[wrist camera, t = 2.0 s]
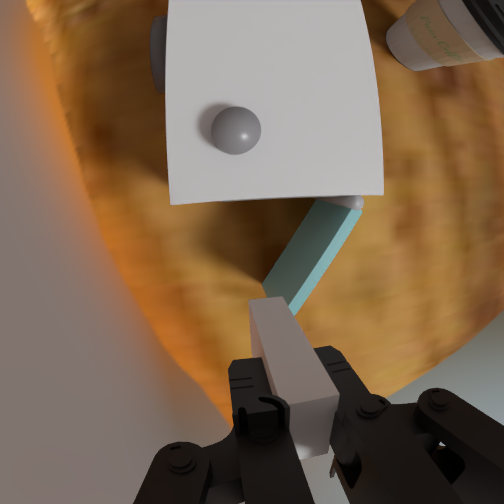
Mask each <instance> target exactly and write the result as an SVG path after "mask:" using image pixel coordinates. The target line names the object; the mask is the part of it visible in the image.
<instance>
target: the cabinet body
mask: <svg viewBox="0 0 504 504" xmlns="http://www.w3.org/2000/svg"><path fill="white" fill-rule="evenodd" d="M150 60H151V69H152V75H153V80H154V84H155V87H156V90H157V92H158V93H165V100H166V140H167V161H168V178H169V192H170V204H171V205H177V204H188V203H200V202H212V201H222V202H228V201H243V200H259V199H279V198H302V197H338V196H343V195H384V182H383V149H382V132H381V119H380V108H379V99H378V90H377V82H376V75H375V68H374V62H373V56H372V50H371V45H370V40H369V35H368V30H367V25H366V21H365V16H364V12H363V8H362V4H361V0H169V6H168V15H161V16H155V17H154V19H153V22H152V26H151V33H150Z"/></svg>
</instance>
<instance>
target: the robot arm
mask: <svg viewBox="0 0 504 504" xmlns="http://www.w3.org/2000/svg"><path fill="white" fill-rule="evenodd" d="M248 301H249V317H250V333H251V349H252V355H253V358H248V359H239V360H233V361H232V363H231V365H230V367H229V368H228V374H229V384H230V393H231V401H232V410H233V414H232V417H233V424H234V426H233V429H232V431H231V432H230V434H229V435H228V436H227V437H226V438H224V439H223V440H222V441H220V442H217V443H215V444H213V445H209V446H206V447H203V448H201V447H200V446H198V445H196V444H193V443H190V442H175V443H171V444H168V445H166V446H165V447H163V448H161V449H160V450H159V451H158V453H157V454H156V455H155V457H154V459H153V461H152V463H151V465H150V468H149V470H148V472H147V474H146V477H145V479H144V481H143V483H142V485H141V488H140V490H139V492H138V494H137V496H136V499H135V501H134V503H133V504H239V503H242V502H244V501H245V504H315V503H314V500H313V497H312V494H311V491H310V489H309V486H308V483H307V480H306V477H305V474H304V471H303V468H302V465H301V462H300V460H301V459H305V458H310V457H314V456H318V455H323V454H326V453H328V450H329V445H331V447H332V449H333V451H334V454H335V455H334V459H333V462H332V466H331V469H330V478H332V477H334V474H335V471H336V473H337V475H338V478H339V479H340V482H341V485H342V487H343V489H344V491H345V494H346V496H347V498H348V500H349V503H350V504H504V426H503V425H502V424H500V423H499V422H497V421H495V420H494V419H492V418H491V417H489V416H487V415H486V414H484V413H483V412H481V411H480V410H478V409H477V408H475V407H474V406H472V405H471V404H469V403H467V402H466V401H464V400H463V399H461V398H459V397H458V396H457V395H455V394H454V393H452V392H450V391H448V390H445V389H441V388H432V389H428V390H426V391H424V392H423V393H422V394H421V395H420V396H419V398H418V401H417V403H408V404H391V403H390V402H389V401H388V400H387V399H385V398H384V397H382V396H379V395H376V394H370V392H369V391H368V389H367V388H366V387H365V385H364V384H363V382H362V381H361V380H360V378H359V377H358V375H357V374H356V373H355V371H354V370H353V369H352V367H351V366H350V364H349V363H348V362H347V360H346V359H345V357H344V356H343V355H342V353H341V352H340V351H338V350H337V349H335V348H333V347H332V346H324V347H319V348H312V346H311V344H310V343H309V341H308V339H307V337H306V336H305V334H304V332H303V331H302V329H301V327H300V326H299V324H298V322H297V320H296V319H295V317H294V315H293V314H292V312H291V310H290V309H289V307H288V305H287V303H286V302H285V300H284V298H283V297H282V296H281V297H272V298H262V299H252V300H248ZM440 442H442V443H443V444H444V445H446V446H440V445H439V443H440Z"/></svg>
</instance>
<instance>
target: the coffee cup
mask: <svg viewBox="0 0 504 504" xmlns="http://www.w3.org/2000/svg"><path fill="white" fill-rule="evenodd" d="M386 42H387V45H388V47H389V49H390V51H391V52H392V54H393V55H394V56H395V58H396V59H397V60H398V61H399V62H400V63H401V64H403V65H404V66H405V67H407V68H409V69H410V70H413V71H421V70H425V69H430V68H435V67H440V66H454V65H460V64H466V63H473V62H480V61H488V60H493V59H494V58H500V57H504V0H416V1H415V2H414V3H413V4H412V5H411V6H410V7H409V8H408V10H407V11H406V13H405V14H404V15H403V16H401V17H400V18H399V19H398V20H397V21H396V22H395V23H394V24H393V25H392V26H391V27H390V28H389V29H388V31H387V34H386Z"/></svg>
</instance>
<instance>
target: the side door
mask: <svg viewBox="0 0 504 504" xmlns="http://www.w3.org/2000/svg"><path fill="white" fill-rule="evenodd" d="M314 199H316V200H315V202H314V204H313V205H312V207H311V208H310V210H309V211H308V213H307V215H306V216H305V218H304V219H303V221H302V223H301V224H300V226H299V227H298V229H297V230H296V232H295V234H294V235H293V237H292V238H291V240H290V241H289V243H288V244H287V246H286V248H285V249H284V251H283V252H282V254H281V255H280V257H279V258H278V260H277V262H276V263H275V265H274V266H273V268H272V269H271V271H270V272H269V274H268V275H267V277H266V278H265V280H264V281H263V283H262V287H263V289H264V291H265V293H266V296H267V298H272V297H281V296H282V297H283V298H284V300H285V302H286V303H287V305H288V307H289V309H290V310H291V312H292V314H293V315H294V316H295V314H296V313H297V312H298V310H299V309H300V307H301V306H302V305H303V303H304V302H305V300H306V299H307V297H308V296H309V294H310V293H311V292H312V290H313V289H314V287H315V286H316V284H317V283H318V281H319V280H320V278H321V277H322V275H323V274H324V272H325V271H326V269H327V268H328V266H329V265H330V263H331V262H332V260H333V259H334V257H335V256H336V254H337V252H338V251H339V249H340V248H341V246H342V245H343V243H344V241H345V240H346V238H347V237H348V235H349V233H350V232H351V230H352V229H353V227H354V225H355V224H356V222H357V221H358V219H359V217H360V216H361V214H362V212H363V211H361V210H360V209H361V208H362V207H363V205H364V200H363V198H362V197H361V196H360V195H343V196H338V197H314Z"/></svg>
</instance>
